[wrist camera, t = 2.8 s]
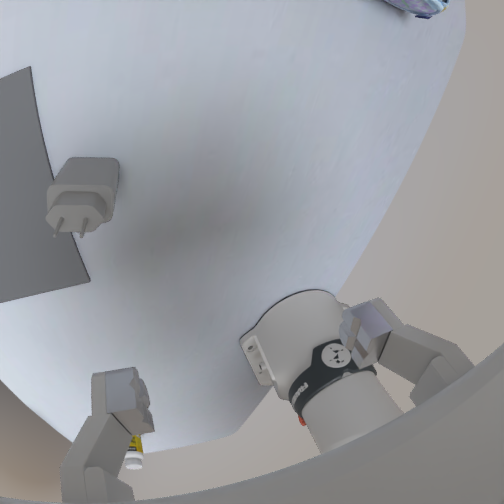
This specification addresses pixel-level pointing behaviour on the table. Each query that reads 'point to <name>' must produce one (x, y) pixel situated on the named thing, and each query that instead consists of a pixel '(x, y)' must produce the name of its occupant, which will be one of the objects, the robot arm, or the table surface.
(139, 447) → the supplement bottle
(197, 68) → the table surface
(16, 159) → the desk mat
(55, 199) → the power adapter
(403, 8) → the pencil case
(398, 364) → the robot arm
